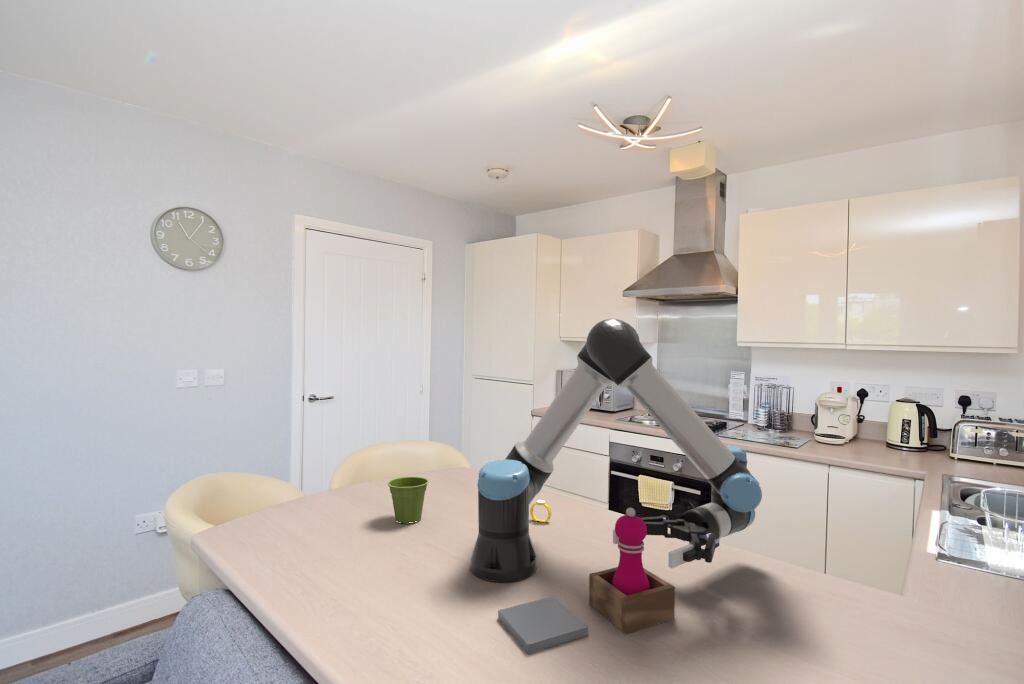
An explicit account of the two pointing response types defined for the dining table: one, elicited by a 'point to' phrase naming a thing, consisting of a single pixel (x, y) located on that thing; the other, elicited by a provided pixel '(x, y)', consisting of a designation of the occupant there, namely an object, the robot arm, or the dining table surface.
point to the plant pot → (408, 497)
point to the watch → (540, 502)
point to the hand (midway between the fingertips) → (640, 548)
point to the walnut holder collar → (632, 601)
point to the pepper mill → (630, 554)
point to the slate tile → (542, 624)
